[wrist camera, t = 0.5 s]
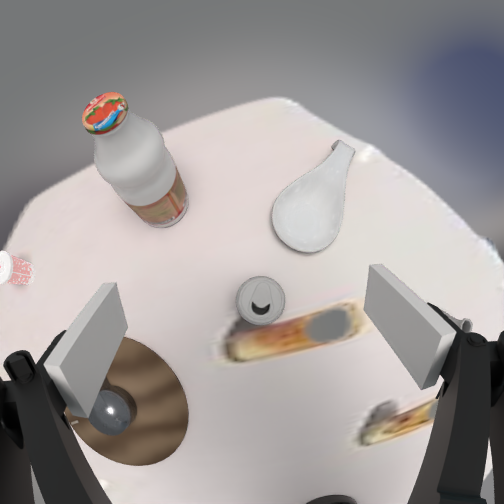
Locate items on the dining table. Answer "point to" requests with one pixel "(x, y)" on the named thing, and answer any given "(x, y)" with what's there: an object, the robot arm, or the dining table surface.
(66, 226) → the dining table surface
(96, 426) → the dial
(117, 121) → the fruit juice
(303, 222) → the spoon rest
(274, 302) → the beverage can
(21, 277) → the beverage cup
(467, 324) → the flask
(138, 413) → the dial board
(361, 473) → the dining table surface
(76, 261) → the dining table surface
